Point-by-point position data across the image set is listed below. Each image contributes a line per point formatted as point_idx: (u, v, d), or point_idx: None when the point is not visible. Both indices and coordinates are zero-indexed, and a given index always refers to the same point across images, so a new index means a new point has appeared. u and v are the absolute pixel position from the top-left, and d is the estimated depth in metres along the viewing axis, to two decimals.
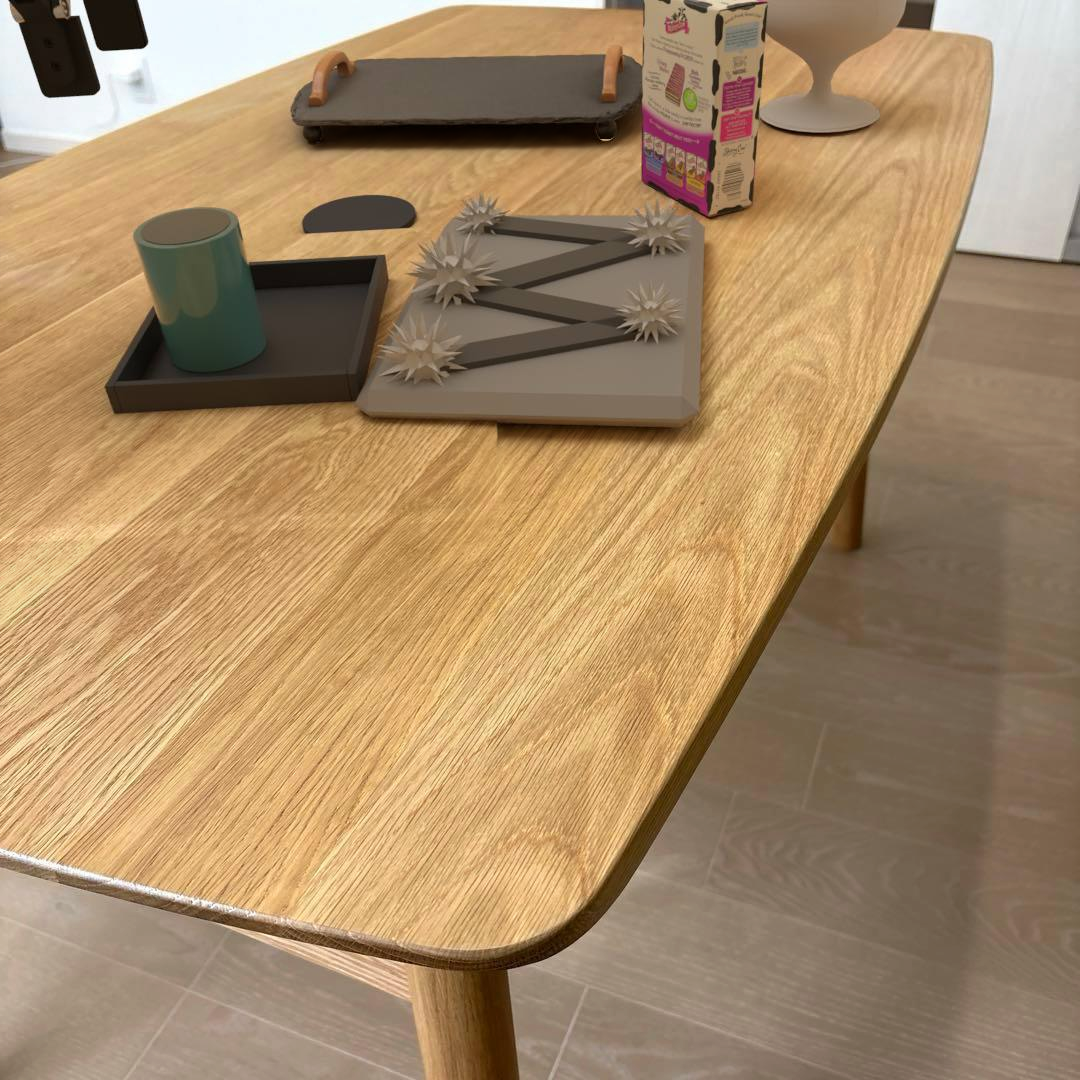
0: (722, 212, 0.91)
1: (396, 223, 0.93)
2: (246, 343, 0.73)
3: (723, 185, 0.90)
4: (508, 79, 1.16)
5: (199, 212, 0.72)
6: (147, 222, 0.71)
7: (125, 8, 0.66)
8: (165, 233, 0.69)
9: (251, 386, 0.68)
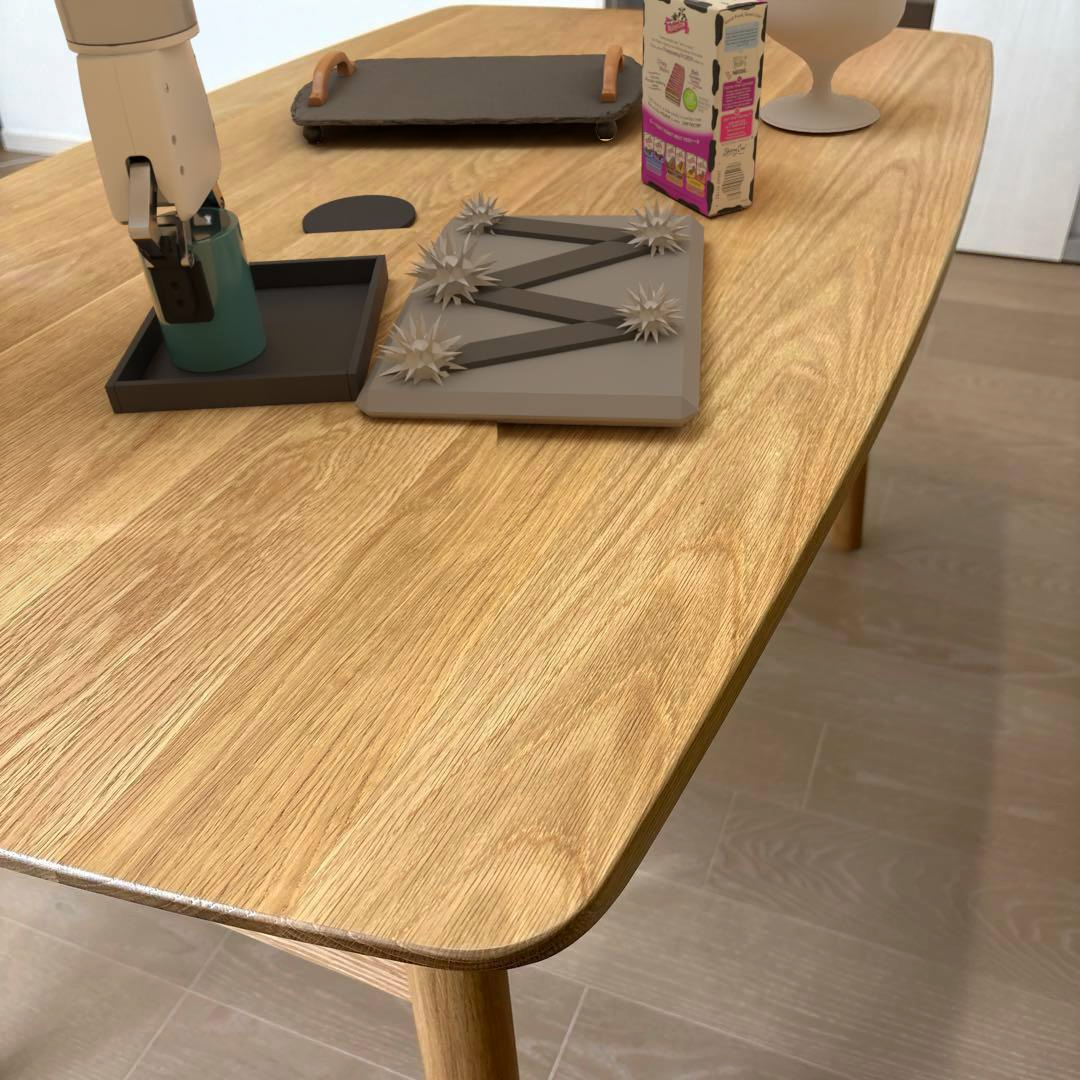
0: (722, 212, 0.91)
1: (396, 223, 0.93)
2: (246, 343, 0.73)
3: (723, 185, 0.90)
4: (508, 79, 1.16)
5: (199, 212, 0.72)
6: None
7: None
8: (165, 233, 0.69)
9: (251, 386, 0.68)
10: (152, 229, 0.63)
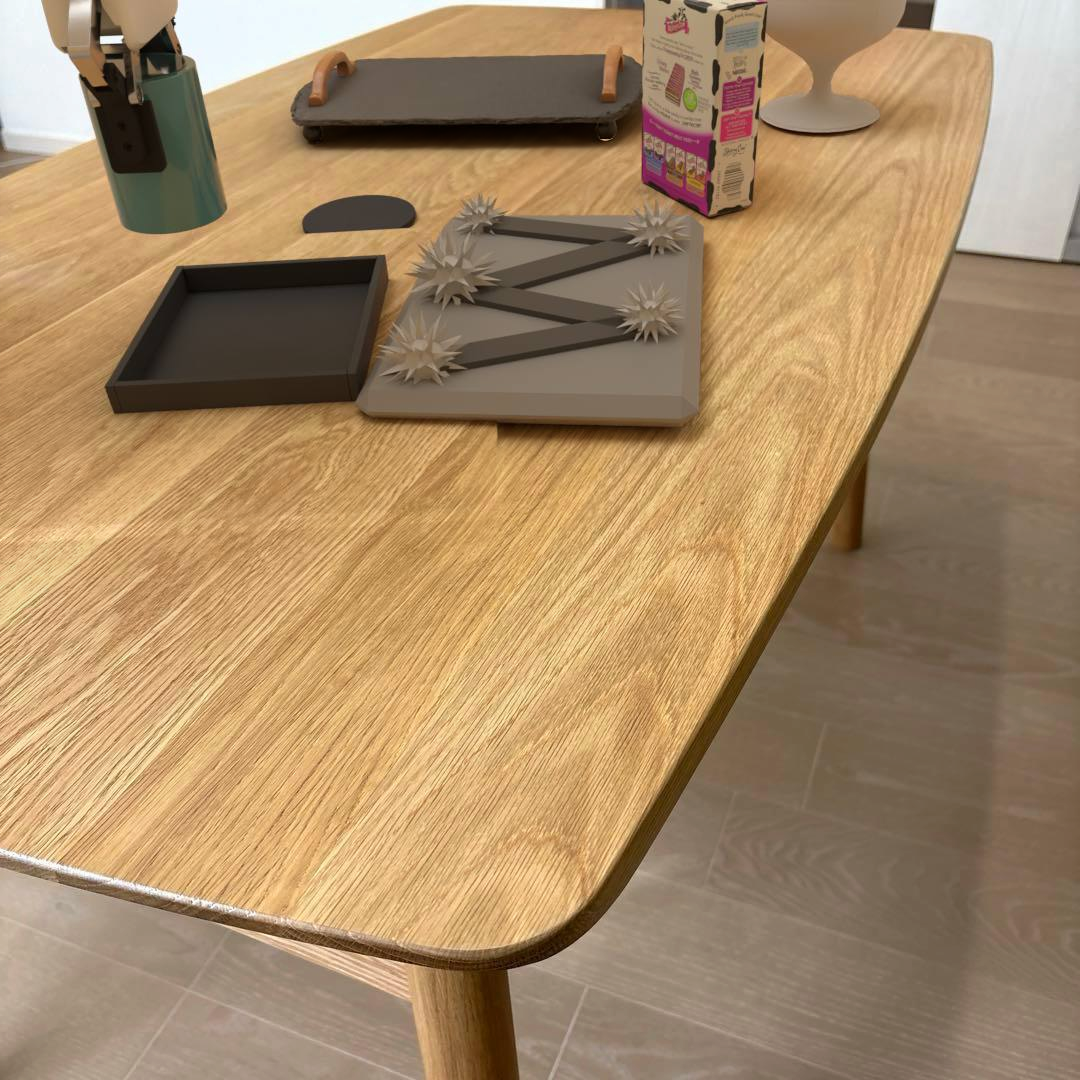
0: (722, 212, 0.91)
1: (396, 223, 0.93)
2: (202, 203, 0.67)
3: (723, 185, 0.90)
4: (508, 79, 1.16)
5: (153, 56, 0.66)
6: None
7: None
8: None
9: (251, 386, 0.68)
10: (95, 50, 0.56)
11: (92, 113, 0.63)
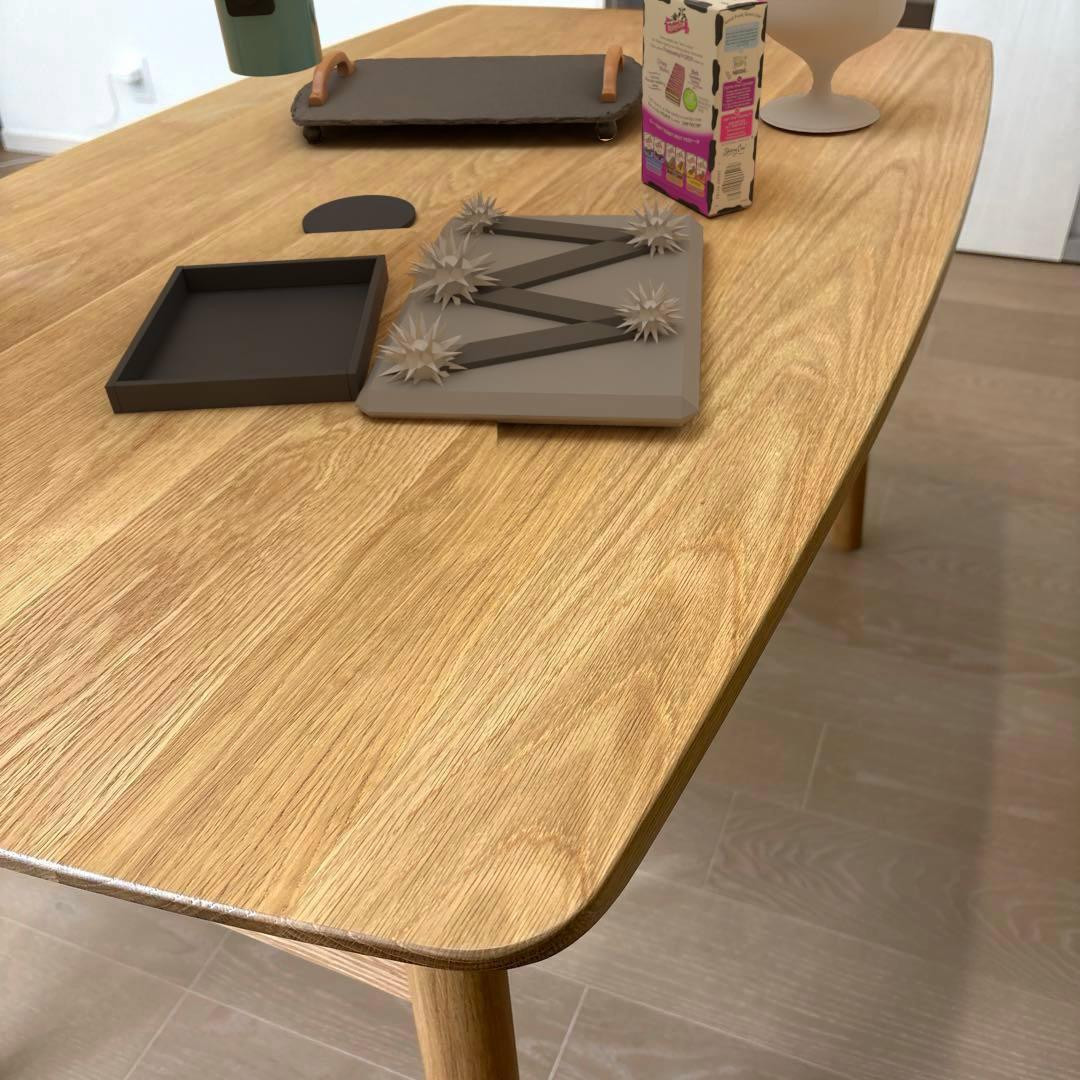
0: (722, 212, 0.91)
1: (396, 223, 0.93)
2: (304, 48, 0.75)
3: (723, 185, 0.90)
4: (508, 79, 1.16)
5: None
6: None
7: None
8: None
9: (251, 386, 0.68)
10: None
11: None
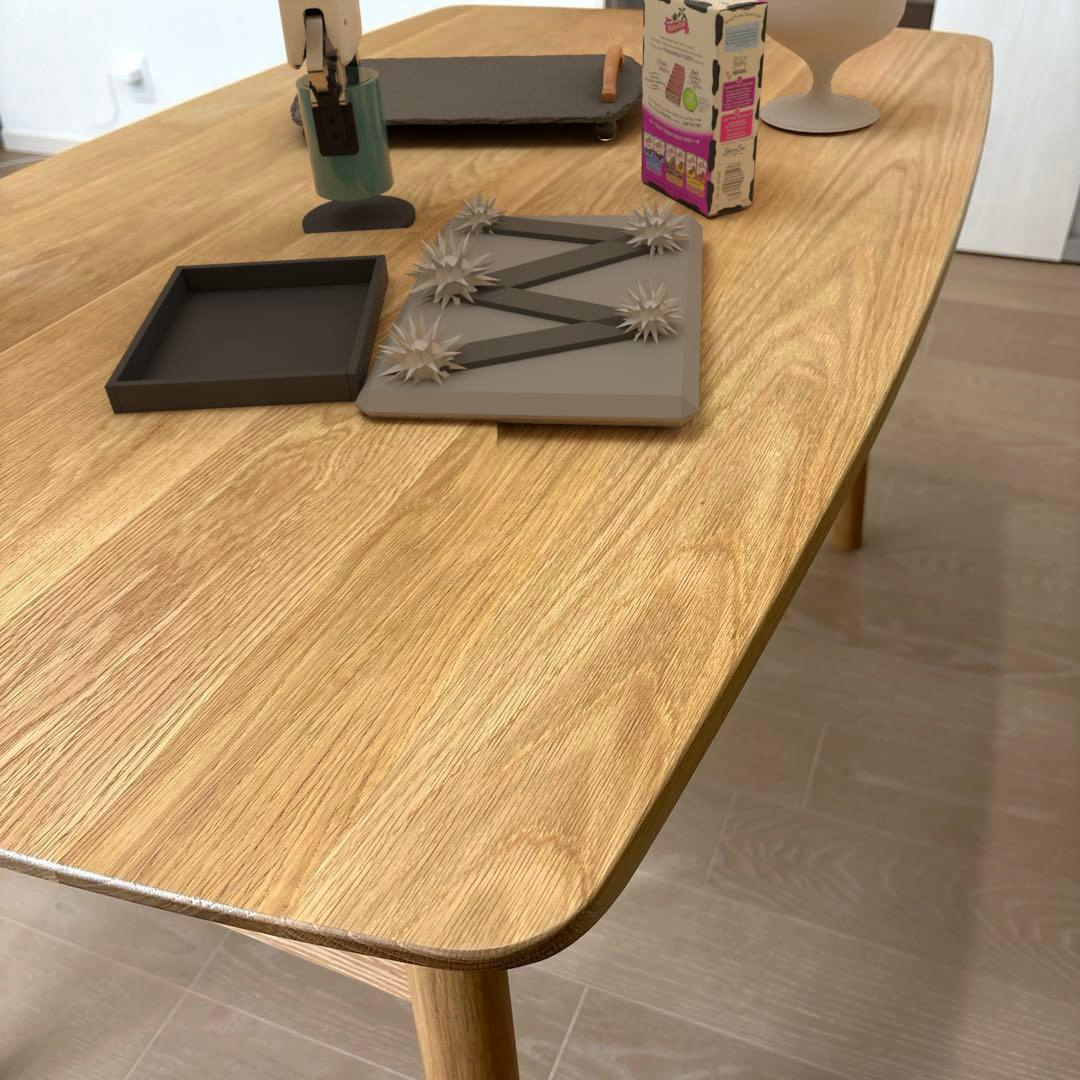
0: (722, 212, 0.91)
1: (396, 223, 0.93)
2: (380, 177, 0.90)
3: (723, 185, 0.90)
4: (508, 79, 1.16)
5: (345, 69, 0.89)
6: (304, 76, 0.88)
7: None
8: None
9: (251, 386, 0.68)
10: (324, 66, 0.80)
11: (306, 112, 0.87)
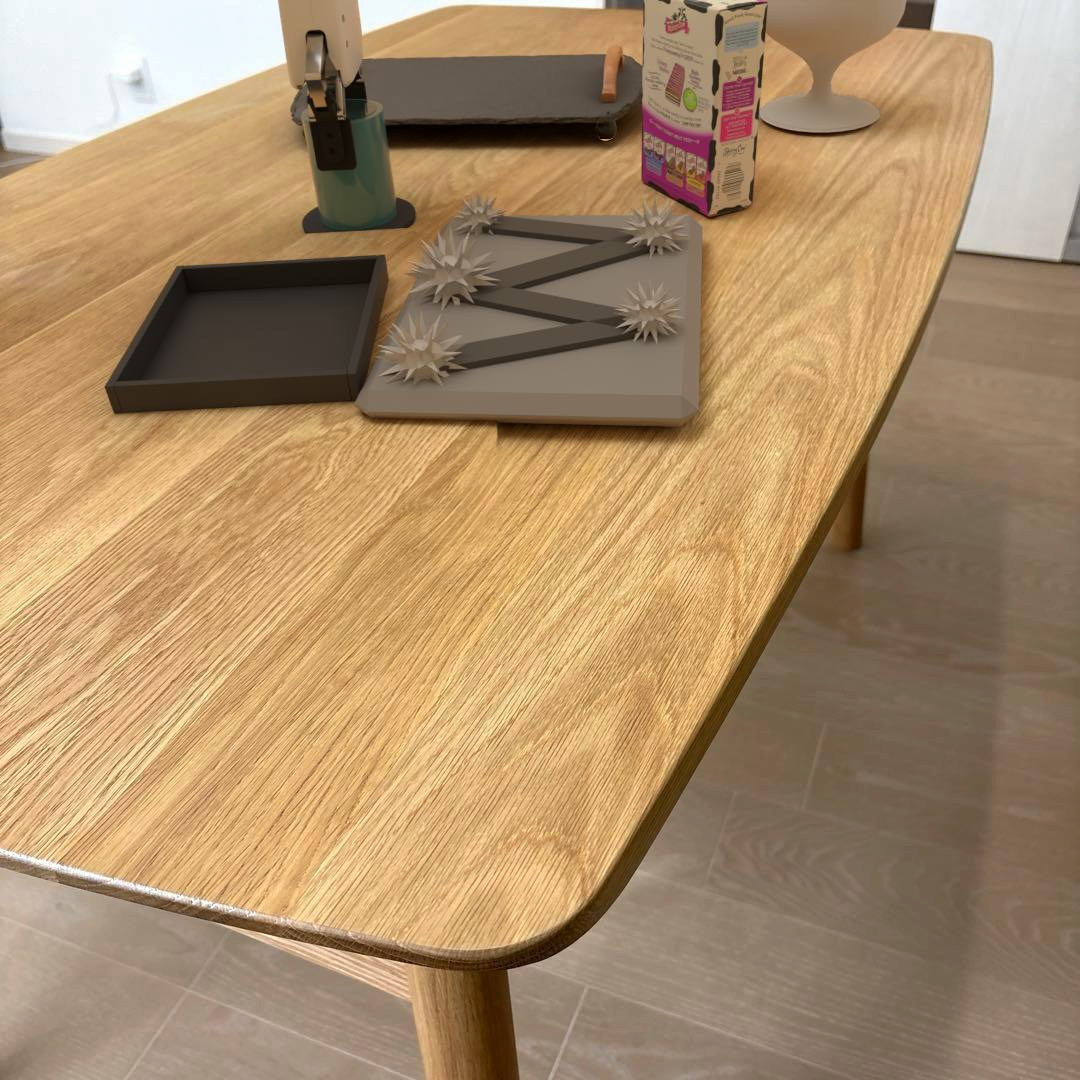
0: (722, 212, 0.91)
1: (396, 223, 0.93)
2: (384, 207, 0.92)
3: (723, 185, 0.90)
4: (508, 79, 1.16)
5: (350, 102, 0.90)
6: None
7: None
8: None
9: (251, 386, 0.68)
10: (322, 76, 0.80)
11: (311, 144, 0.88)
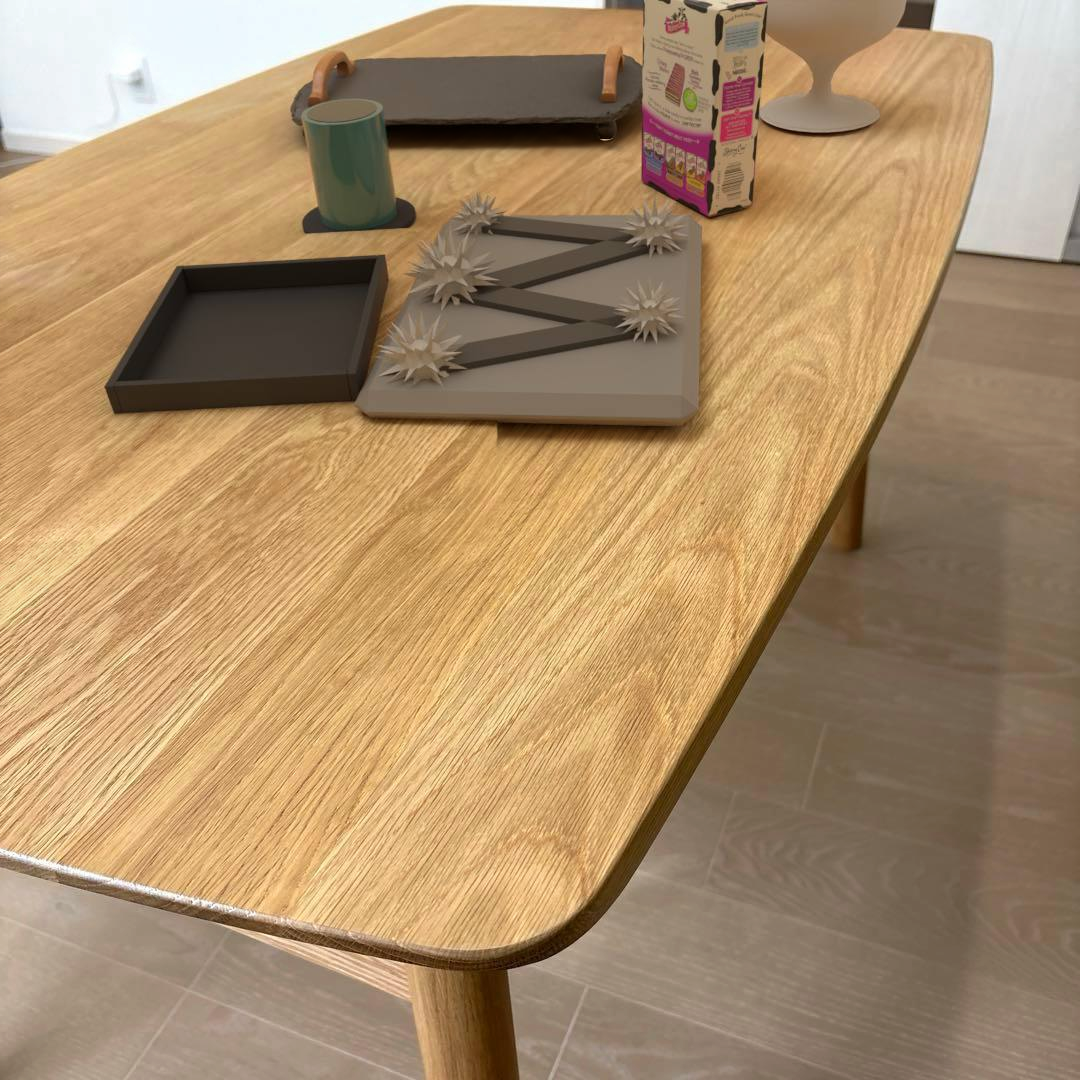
0: (722, 212, 0.91)
1: (396, 223, 0.93)
2: (384, 207, 0.92)
3: (723, 185, 0.90)
4: (508, 79, 1.16)
5: (350, 102, 0.90)
6: (310, 108, 0.90)
7: None
8: (327, 115, 0.88)
9: (251, 386, 0.68)
10: None
11: (311, 144, 0.88)
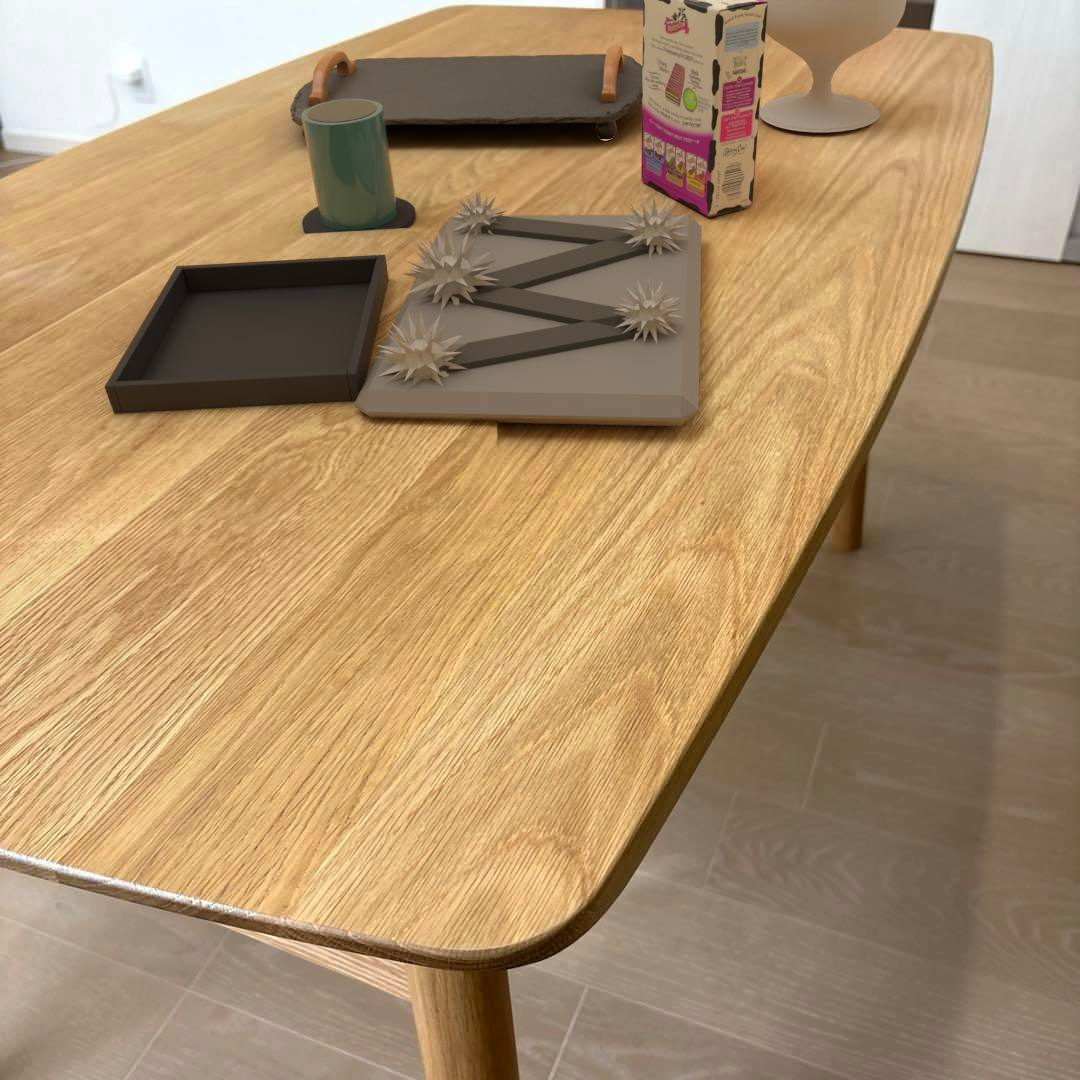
0: (722, 212, 0.91)
1: (396, 223, 0.93)
2: (384, 207, 0.92)
3: (723, 185, 0.90)
4: (508, 79, 1.16)
5: (350, 102, 0.90)
6: (310, 108, 0.90)
7: None
8: (327, 115, 0.88)
9: (251, 386, 0.68)
10: None
11: (311, 144, 0.88)
